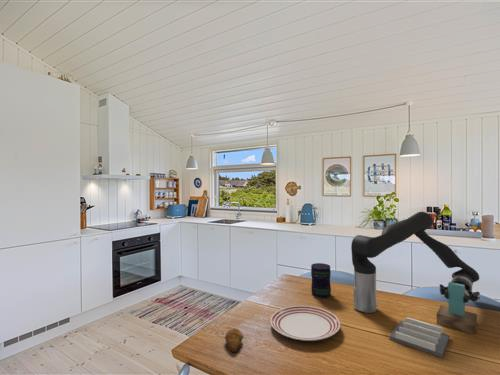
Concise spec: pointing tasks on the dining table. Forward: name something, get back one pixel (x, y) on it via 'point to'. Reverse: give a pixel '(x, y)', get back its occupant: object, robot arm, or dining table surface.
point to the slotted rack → (421, 336)
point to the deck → (457, 320)
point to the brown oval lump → (234, 339)
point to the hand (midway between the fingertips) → (455, 298)
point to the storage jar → (321, 280)
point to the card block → (456, 298)
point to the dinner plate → (305, 323)
